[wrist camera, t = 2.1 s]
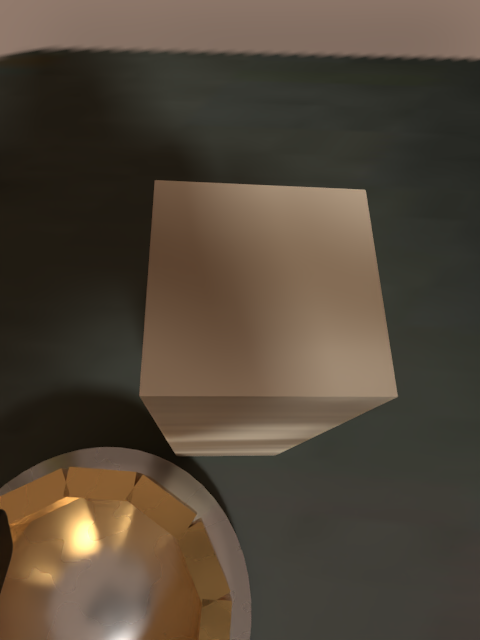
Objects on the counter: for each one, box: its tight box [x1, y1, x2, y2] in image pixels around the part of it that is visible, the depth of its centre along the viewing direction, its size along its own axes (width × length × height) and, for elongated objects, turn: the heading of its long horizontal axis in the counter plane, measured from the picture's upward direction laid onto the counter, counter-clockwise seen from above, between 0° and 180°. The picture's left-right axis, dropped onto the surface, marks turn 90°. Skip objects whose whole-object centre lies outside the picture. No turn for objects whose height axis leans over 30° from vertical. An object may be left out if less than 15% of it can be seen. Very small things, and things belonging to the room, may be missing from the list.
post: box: [139, 180, 398, 456], centre depth 14 cm, size 4×4×13 cm
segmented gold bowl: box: [0, 447, 251, 640], centre depth 15 cm, size 12×12×4 cm
